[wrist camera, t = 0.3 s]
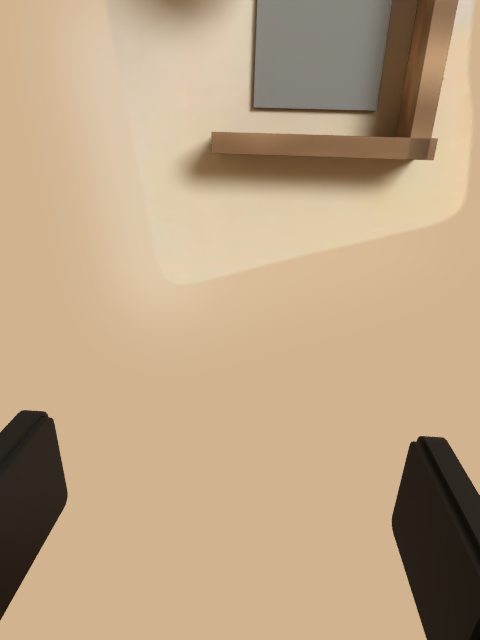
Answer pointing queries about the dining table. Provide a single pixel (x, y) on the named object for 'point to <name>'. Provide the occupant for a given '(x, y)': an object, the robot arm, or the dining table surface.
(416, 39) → the wooden corner fence
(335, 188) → the dining table surface
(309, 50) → the pad
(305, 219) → the dining table surface
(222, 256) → the dining table surface
